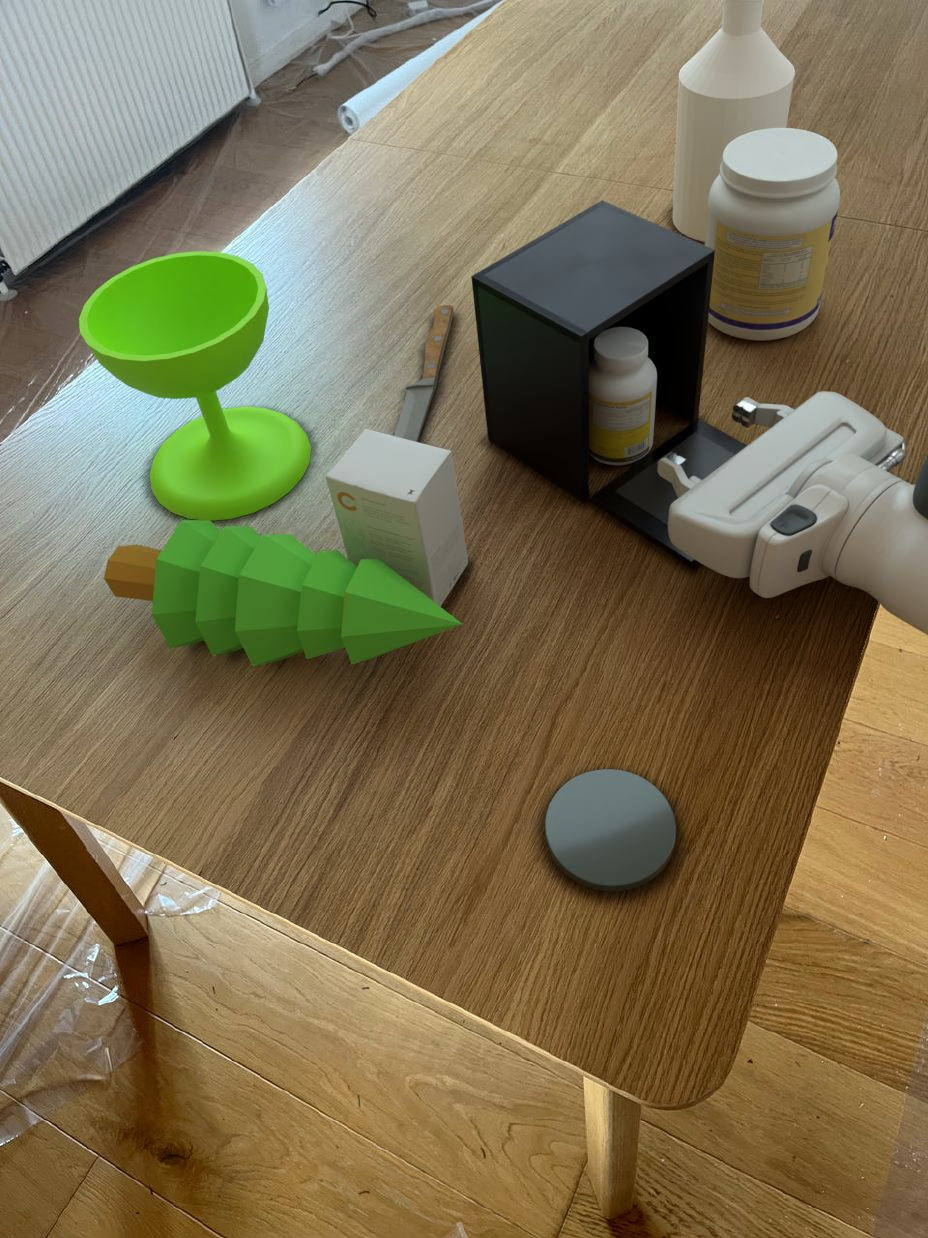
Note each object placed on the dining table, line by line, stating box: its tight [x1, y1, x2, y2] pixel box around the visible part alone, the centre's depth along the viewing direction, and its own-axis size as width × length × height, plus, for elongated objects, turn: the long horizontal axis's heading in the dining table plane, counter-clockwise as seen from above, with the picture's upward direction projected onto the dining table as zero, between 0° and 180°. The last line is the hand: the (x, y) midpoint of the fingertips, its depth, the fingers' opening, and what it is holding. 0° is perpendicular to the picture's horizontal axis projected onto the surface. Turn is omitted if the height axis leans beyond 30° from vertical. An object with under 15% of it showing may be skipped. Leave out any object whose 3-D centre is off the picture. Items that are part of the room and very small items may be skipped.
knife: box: [393, 304, 455, 442], centre depth 103 cm, size 31×1×3 cm
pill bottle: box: [589, 327, 657, 466], centre depth 92 cm, size 6×6×12 cm
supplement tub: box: [704, 127, 841, 341], centre depth 101 cm, size 12×12×17 cm
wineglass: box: [78, 250, 312, 522], centre depth 93 cm, size 16×16×18 cm
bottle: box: [672, 0, 796, 243], centre depth 110 cm, size 12×12×25 cm
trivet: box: [544, 768, 677, 893], centre depth 71 cm, size 9×9×1 cm
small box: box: [325, 428, 469, 608], centre depth 83 cm, size 8×6×13 cm
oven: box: [471, 199, 748, 569], centre depth 88 cm, size 25×16×18 cm, turn 41°
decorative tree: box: [103, 519, 463, 667], centre depth 81 cm, size 11×12×30 cm
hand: (701, 433), depth 87 cm, fingers open, 8 cm apart
